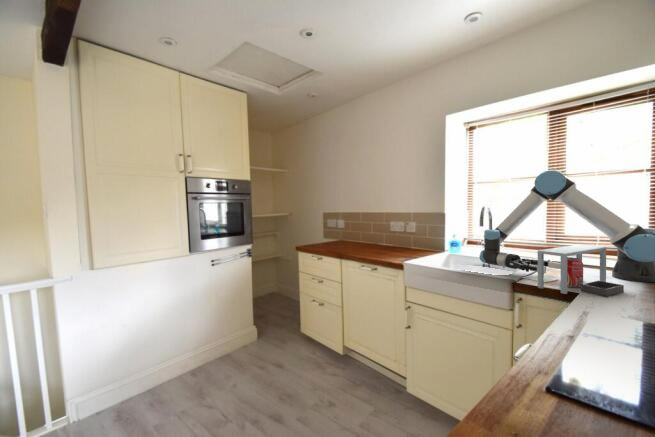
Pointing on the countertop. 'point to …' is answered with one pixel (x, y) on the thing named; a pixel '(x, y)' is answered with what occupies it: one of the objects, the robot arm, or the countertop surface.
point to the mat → (535, 277)
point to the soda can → (574, 272)
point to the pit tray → (602, 288)
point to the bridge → (565, 252)
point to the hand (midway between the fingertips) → (555, 268)
